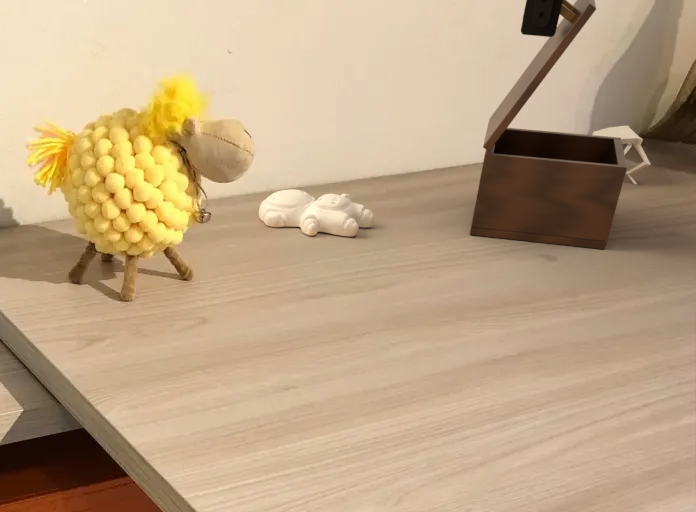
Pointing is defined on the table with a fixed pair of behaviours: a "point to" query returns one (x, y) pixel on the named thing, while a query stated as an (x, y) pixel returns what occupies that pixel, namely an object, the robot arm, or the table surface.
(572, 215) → the chest
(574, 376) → the table surface
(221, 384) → the table surface
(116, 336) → the table surface
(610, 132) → the origami figure
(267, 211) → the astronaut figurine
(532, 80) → the lid
